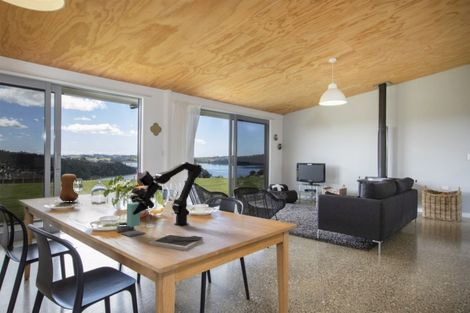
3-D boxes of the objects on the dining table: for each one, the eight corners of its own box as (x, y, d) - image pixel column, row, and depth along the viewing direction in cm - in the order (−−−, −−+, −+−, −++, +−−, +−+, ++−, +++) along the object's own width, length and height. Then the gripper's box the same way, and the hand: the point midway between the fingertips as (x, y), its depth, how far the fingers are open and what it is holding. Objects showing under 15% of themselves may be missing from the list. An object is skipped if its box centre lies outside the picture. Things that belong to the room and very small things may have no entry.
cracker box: (140, 218, 188) (140, 187, 188) (132, 218, 189) (132, 187, 189) (150, 214, 202) (151, 185, 201) (143, 214, 203) (143, 185, 203)
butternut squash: (73, 200, 254) (73, 173, 254) (80, 202, 247) (81, 173, 246) (56, 202, 243) (57, 173, 243) (63, 204, 235) (64, 174, 235)
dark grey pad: (145, 233, 153) (145, 232, 153) (130, 237, 146) (130, 236, 146) (135, 230, 158) (135, 229, 158) (120, 234, 151) (120, 233, 151)
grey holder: (132, 226, 167) (132, 221, 167) (134, 230, 159) (134, 225, 159) (116, 228, 163) (116, 223, 163) (117, 232, 155) (117, 226, 155)
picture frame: (202, 242, 142) (168, 237, 150) (202, 237, 142) (168, 232, 150) (185, 252, 127) (149, 245, 135) (185, 246, 127) (149, 240, 135)
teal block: (135, 223, 156) (135, 202, 156) (139, 225, 152) (140, 203, 152) (126, 225, 152) (127, 203, 152) (131, 227, 149) (131, 204, 148)
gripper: (133, 180, 161) (113, 202, 154) (149, 183, 148) (128, 206, 140) (145, 193, 167) (127, 214, 159) (162, 196, 154) (143, 220, 146)
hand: (131, 213), depth 151 cm, fingers closed on teal block, 5 cm apart
